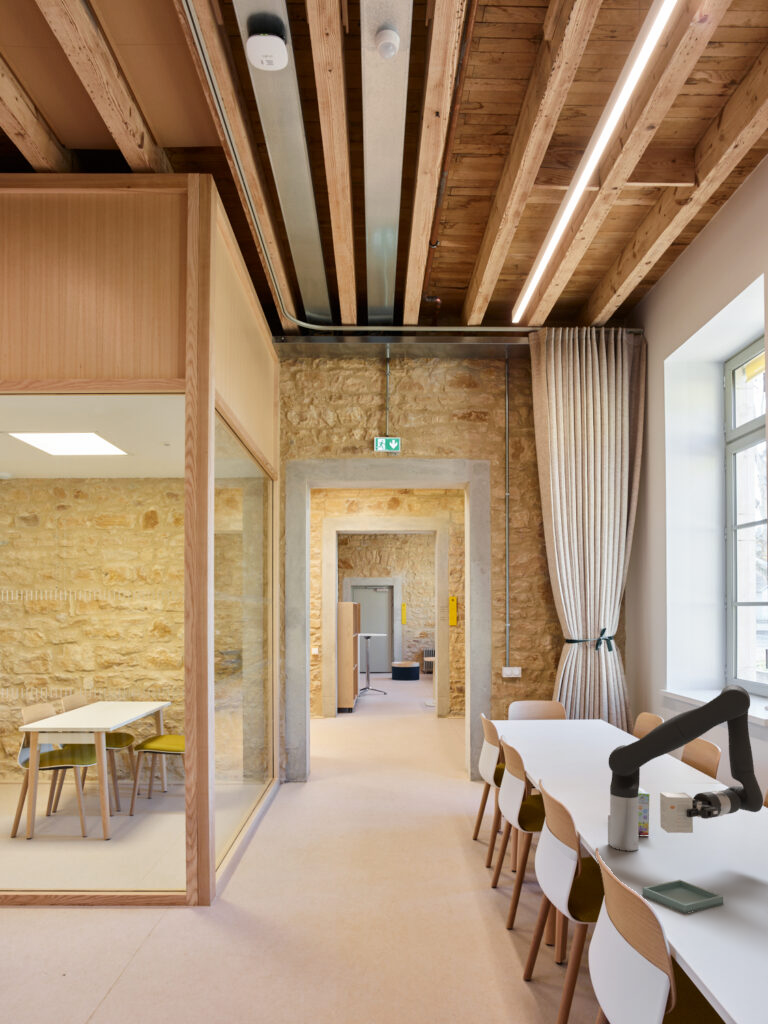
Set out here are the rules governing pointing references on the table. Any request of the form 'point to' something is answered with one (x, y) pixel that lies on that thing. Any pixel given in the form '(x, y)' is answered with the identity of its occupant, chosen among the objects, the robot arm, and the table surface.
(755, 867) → the table surface
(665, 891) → the tray
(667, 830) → the small box
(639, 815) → the snack box
